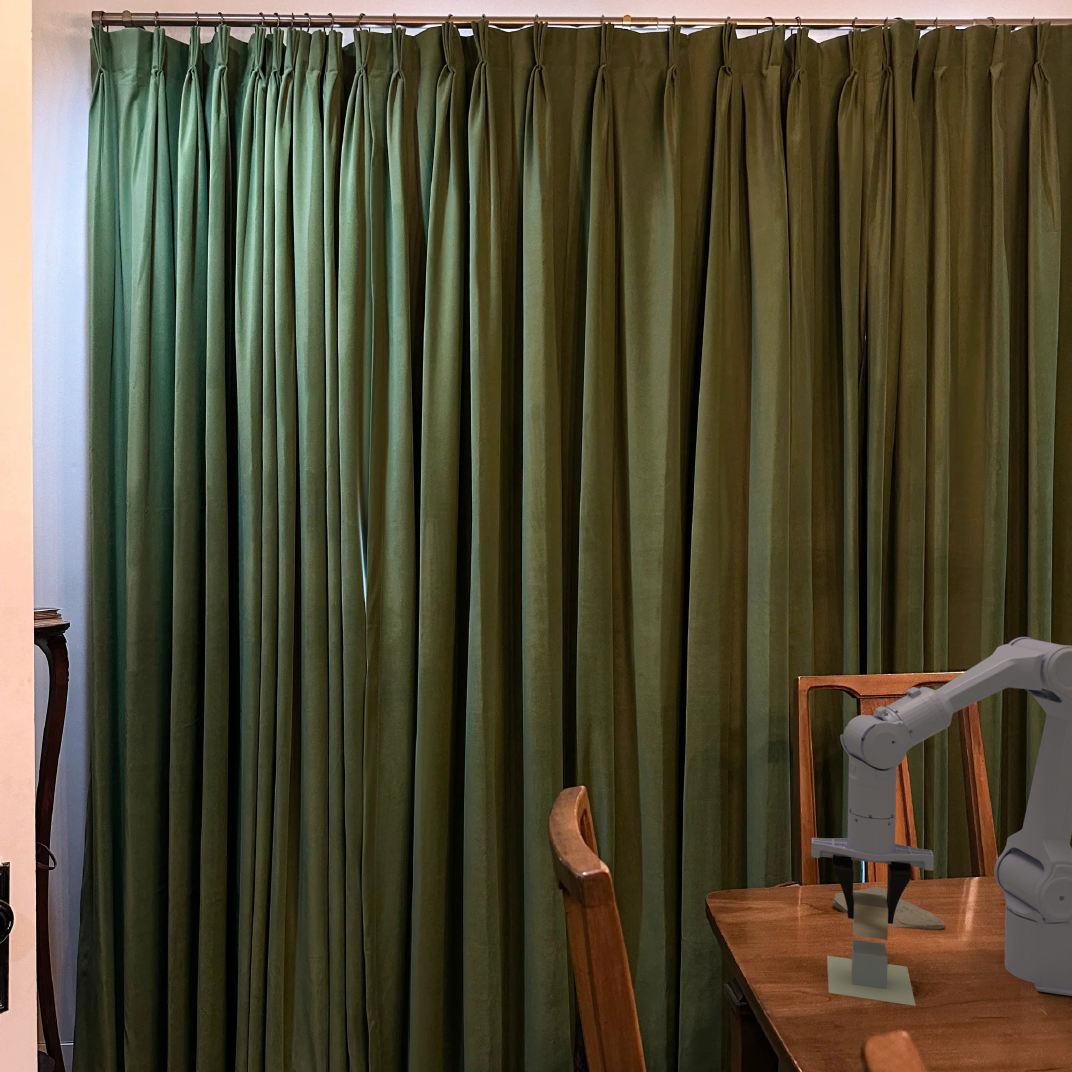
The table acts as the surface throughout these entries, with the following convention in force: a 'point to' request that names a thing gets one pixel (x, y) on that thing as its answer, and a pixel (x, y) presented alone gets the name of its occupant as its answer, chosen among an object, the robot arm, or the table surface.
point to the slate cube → (869, 964)
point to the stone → (898, 912)
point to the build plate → (843, 985)
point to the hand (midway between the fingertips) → (869, 918)
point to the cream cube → (870, 916)
